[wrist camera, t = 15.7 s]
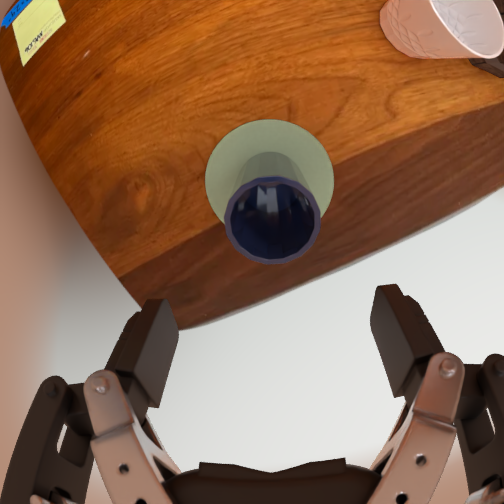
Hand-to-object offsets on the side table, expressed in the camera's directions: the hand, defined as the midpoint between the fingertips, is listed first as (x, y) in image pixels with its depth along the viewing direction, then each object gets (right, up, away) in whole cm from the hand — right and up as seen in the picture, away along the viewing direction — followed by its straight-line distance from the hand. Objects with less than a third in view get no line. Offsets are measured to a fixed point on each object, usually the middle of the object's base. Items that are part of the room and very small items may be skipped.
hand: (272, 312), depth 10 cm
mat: (+1, +9, +15) cm, 17 cm away
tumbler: (+1, +8, +15) cm, 17 cm away
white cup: (+14, +24, +6) cm, 28 cm away
